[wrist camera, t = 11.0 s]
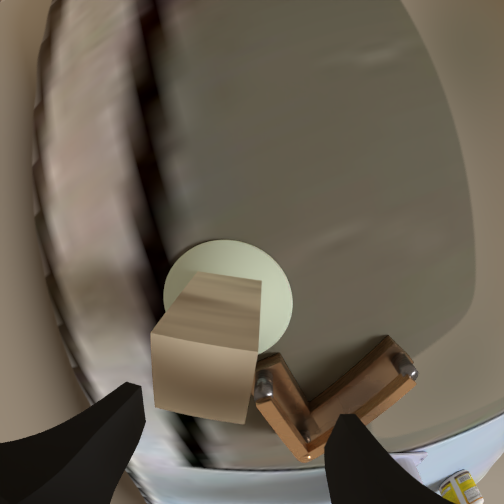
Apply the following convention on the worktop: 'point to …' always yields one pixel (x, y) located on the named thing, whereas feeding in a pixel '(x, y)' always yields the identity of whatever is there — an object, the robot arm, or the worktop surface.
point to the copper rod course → (330, 397)
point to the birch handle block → (208, 348)
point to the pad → (244, 266)
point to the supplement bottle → (461, 489)
